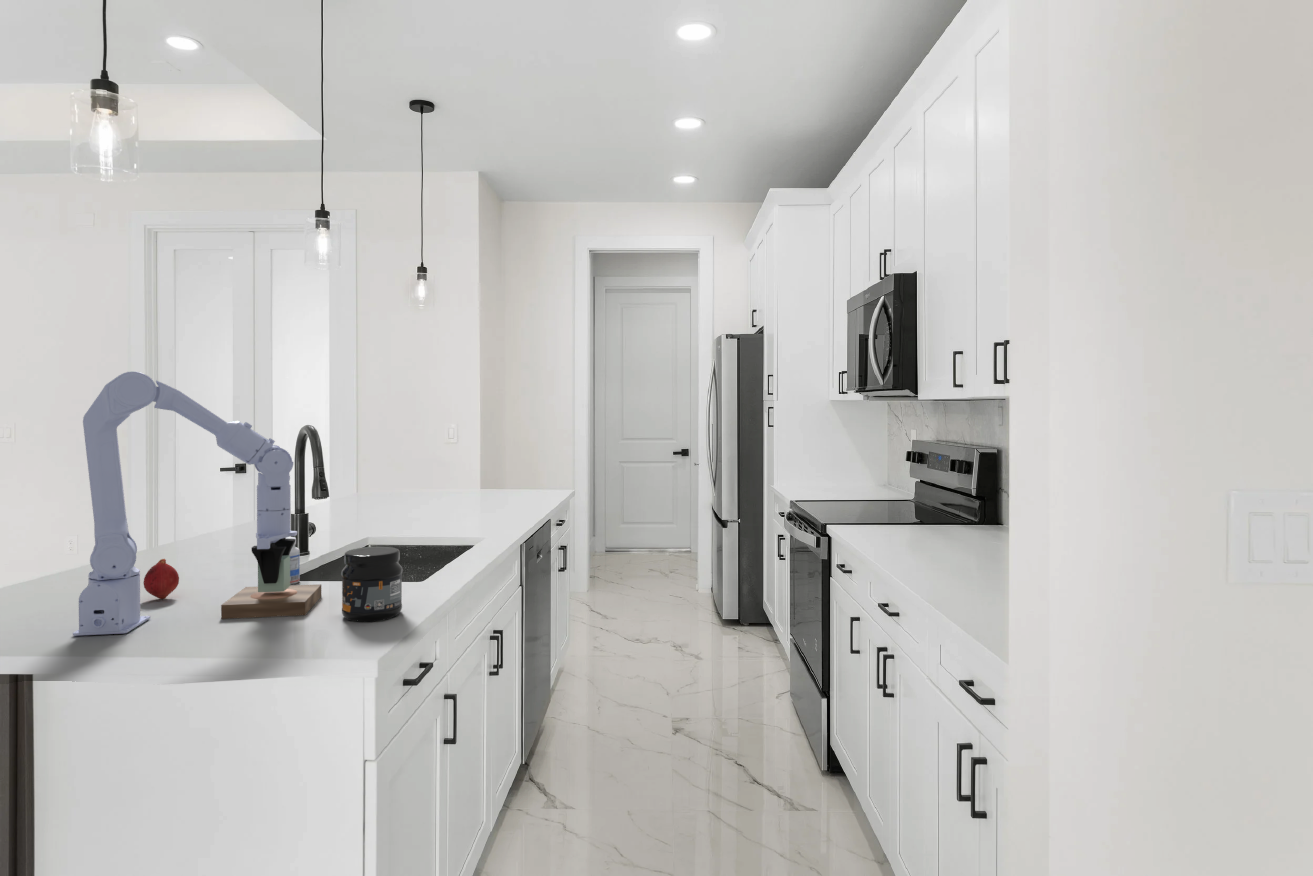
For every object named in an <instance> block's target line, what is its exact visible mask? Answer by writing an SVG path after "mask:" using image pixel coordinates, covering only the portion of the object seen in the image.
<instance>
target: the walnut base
mask: <svg viewBox="0 0 1313 876" xmlns="http://www.w3.org/2000/svg"><path fill="white" fill-rule="evenodd" d="M321 597H322V584H320V583H319V584H296V585H295V584H291V585H290V587H288V588H287V589H286V590H285V591H283V592H258V586H244V587H243V588H242V589H241V590H240V591H238V592H236V594H234V595H233V596H231V597H230V598H229V599H228V600H226V601H224V602H223V603H222V604H221V605H220V608H221V609H220V613H221V615H220V619H222V620H224V619H225V620H226V619H229V620H230V619H249V618H250V619H251V618H269V617H270V618H271V617H291V616H292V617H293V616H294V617H296V616H297V617H298V616H306V615H307V613H309V611H310V610H311V609H312V608H313V607H314V606H315V604H316V603H317V602H318V601H319V600H320V599H321Z"/></svg>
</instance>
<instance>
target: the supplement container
mask: <svg viewBox="0 0 1313 876" xmlns="http://www.w3.org/2000/svg"><path fill="white" fill-rule="evenodd" d="M400 554H401V553H400V550H399V549H398V548H395V547H391V546H366V547H359V548H353V549H349V550H346V552H344V559H343V561H344V565H345V566H344V567H343V569H342V570H341V573H340V575H341V577H342V578H341V580H342V581H341V590H342V591H341V597H342V598H341V599H342V600H341V604H342V605H341V614H342V616H343V617H344V618H345V619H346V620H348V621H351V622H352V621H353V622H357V623H358V622H359V623H360V622H361V623H370V622H371V623H373V622H379V621H385V620H389V619H391V618H395V617H396V616H398V615H399V614H400V613H401V612H402V610H403V603H402V602H403V601H402V600H403V599H402V587H403V586H402V583H403V581H402V579H403V578H402V576H403V567H402V565H401V564H400V563H399V561H400V559H401V558H400ZM394 616H395V617H394Z"/></svg>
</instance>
